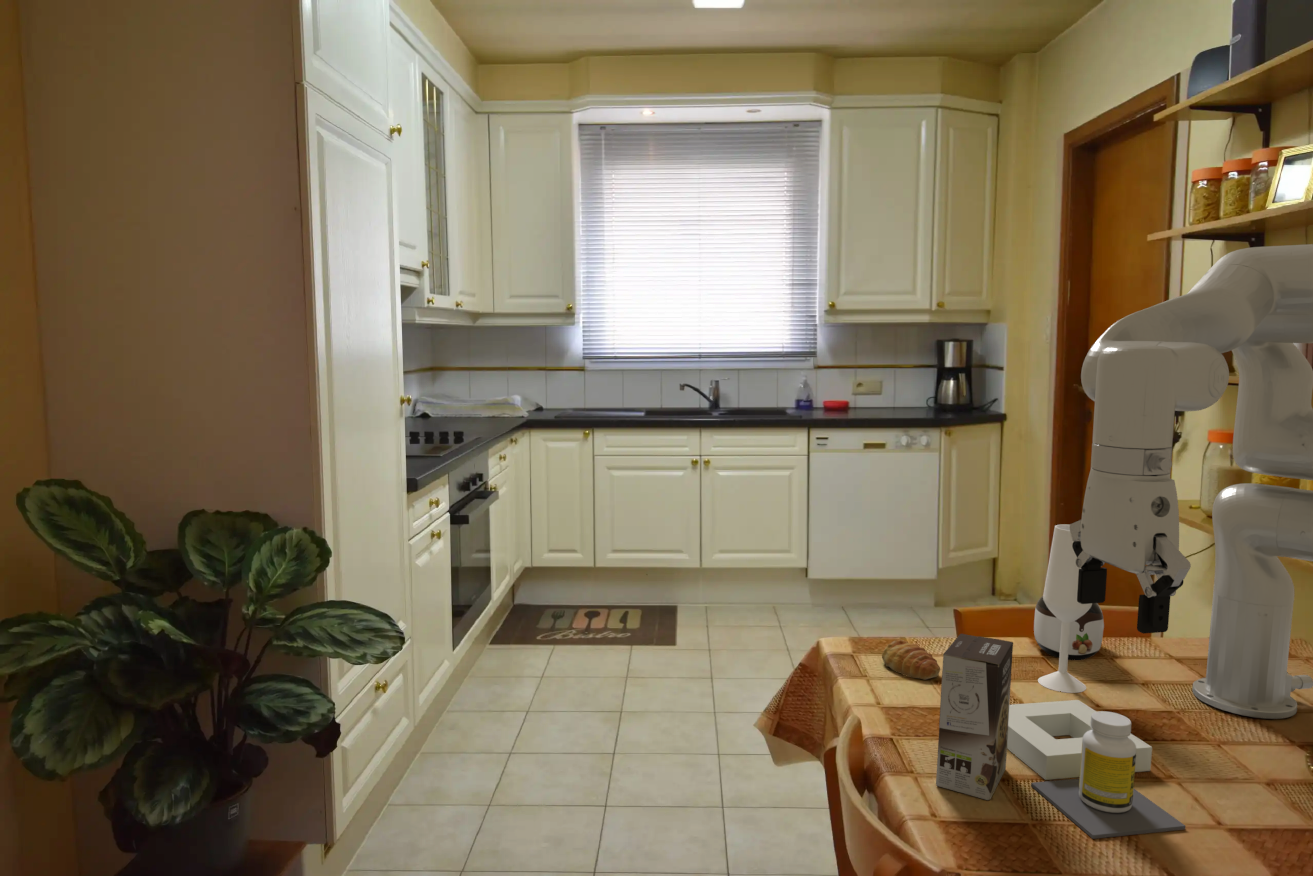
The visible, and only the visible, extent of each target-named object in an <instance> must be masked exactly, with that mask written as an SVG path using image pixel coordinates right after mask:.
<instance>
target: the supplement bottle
mask: <svg viewBox="0 0 1313 876" xmlns="http://www.w3.org/2000/svg"><path fill="white" fill-rule="evenodd" d="M1090 727H1091V729H1092V730H1089V731H1087V732H1086V733H1085V734H1084V735H1083V740H1082V753H1081V766H1080V777H1079V778H1080V780H1079V797H1080V798H1081V800H1082V801H1083V802H1084V803H1086V804H1087V805H1089V806H1091V807H1093V808H1095V809H1097V810H1101V811H1105V812H1111V813H1122V812H1126V811H1128V810H1130V809H1131V807H1132V802H1133V789H1135V787H1134V785H1135V775H1136V774H1135V773H1136V772H1135V761H1136V745H1135V743H1134V742H1133V740H1132V739H1130V738H1129V737H1128V736H1130V733H1131V732H1132V721H1131V720H1130V718H1128V717H1127V716H1125V715H1122V714H1120V713H1117V712H1114V711H1113V712H1112V711H1105V710H1104V711H1103V710H1101V711H1096V712H1094V713H1092V715H1091V726H1090ZM1131 734H1132V733H1131Z"/></svg>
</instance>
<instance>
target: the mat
mask: <svg viewBox="0 0 1313 876" xmlns="http://www.w3.org/2000/svg"><path fill="white" fill-rule="evenodd" d="M1079 780H1080V777H1078V778H1071V779H1070V778H1067V779H1055V780H1044V781H1036V782H1031V784H1030V786H1031V787H1032V788H1033V789H1034V790H1036V792H1037V793H1038V794H1040V795H1041V796H1042V797H1043V798H1044V799H1046V800H1047V801H1048V802H1049V803H1051V804H1052V805H1053V806H1054V807H1055V808H1056V809H1058V810H1059V811H1060V812H1061V813H1062V814H1063V815H1064V816H1066V817H1067V819H1069V820H1070V821H1071V822H1072V823H1073V824H1075V825H1076V827H1077V826H1078V828H1080V830H1082V831H1083V832H1084V833H1085V834H1086V835H1087V836H1089V837H1090V838H1091V839H1094V840H1095V839H1105V838H1113V837H1124V836H1133V835H1134V836H1135V835H1141V834H1143V835H1145V834H1153V833H1154V834H1155V833H1163V832H1171V831H1183V830H1186V825H1185V824H1184V823H1183V822H1181V821H1180V820H1178V819H1177V818H1176V817H1174V816H1173V815H1171V814H1170V813H1169V812H1167V811H1166V810H1164V809H1163V808H1161V807H1160V806H1159V805H1157V804H1156V803H1155V802H1153V801H1152V800H1151V799H1149V798H1148V797H1147V796H1145V795H1144V794H1142V793H1141V792H1139V791H1138V790H1137V789H1135V788H1134V789H1133V802H1132V807H1131V809H1130V810H1128V811H1126V812H1122V813H1111V812H1105V811H1101V810H1097V809H1095V808H1093V807H1091V806H1089V805H1087V804H1086V803H1084V802H1083V801H1082V800H1081V798H1080V797H1079Z"/></svg>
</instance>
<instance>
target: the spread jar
mask: <svg viewBox="0 0 1313 876" xmlns="http://www.w3.org/2000/svg"><path fill="white" fill-rule="evenodd" d="M1034 609H1035V610H1034V618H1033V619H1034V620H1033V631H1034V632H1033V634H1034V639H1035V641H1036V643H1037V645H1038V646H1039V648H1040V649H1041V650H1043V652H1044V653H1046V654H1047V655H1049V656H1051V657H1053V656H1054V658H1056V659H1059V655H1060V640H1061V625H1062V621H1061V620H1059V619H1058V618H1056V616H1055V615H1054V614H1053V613H1052V612H1051V611H1050V610H1049V609H1048V607H1047V606H1046V604H1045V602H1044V600H1043V595H1042V596H1041V597H1040V598H1039V599H1038V600H1037V603H1036V605H1035V608H1034ZM1104 628H1105V622H1104V615H1103V611H1102V609H1101V607H1100V605H1099V603H1092V606H1091V608H1090V609H1089V610H1088V611H1087V612H1086V613H1085V614H1084V615H1083V616H1081V617H1080V618H1078V619H1077V620H1075V621H1073V622H1070V634H1069V649H1068V661H1084V660H1087V659H1089V658H1092V657H1093V656H1095V655H1096V654H1097V653H1098V652H1099V651H1100V649H1101V647H1102V642H1103V636H1104V630H1105V629H1104Z"/></svg>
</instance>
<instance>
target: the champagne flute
mask: <svg viewBox="0 0 1313 876" xmlns="http://www.w3.org/2000/svg"><path fill="white" fill-rule="evenodd" d="M1073 542H1074V541H1072V536H1071V532H1070V524H1065V523H1064V524H1061V523H1060V524H1057V525H1056V524H1055V525H1054V529H1053V536H1052V540H1051V546H1050V551H1049V559H1048V565H1047V571H1046V575H1045V582H1044V589H1043V595H1042V596H1043V600H1044V602H1045V604H1046V606H1047V607H1048V609H1049V610H1050V611H1051V612H1052V613H1053V614H1054V615H1055V616H1056V618H1058V619H1059V620H1061V621H1062V625H1061V640H1060V655H1059V658H1058V670H1057V671H1054V672H1051V673H1049V674H1045V675H1043V676H1040V677H1039V678H1038V679H1037V681H1038V683H1039V685H1041V686H1042V687H1044V688H1045V689H1049V690H1051V691H1056V692H1060V691H1061V693H1068V694H1071V693H1072V694H1074V693H1075V694H1076V693H1083V692H1084V691H1086V690H1087V685H1086V684H1084V683H1083V682H1082V681H1080V680H1079V679H1077V678H1076V677H1075V676H1074V675H1072V674H1070V673H1069V672H1068V663H1069V660H1068V649H1069V634H1070V622H1073V621H1075V620H1077V619H1078V618H1080V617H1081V616H1083V615H1084V614H1085V613H1086V612H1087V611H1088V610H1089V609H1090V608H1091V606H1092V603H1091V604H1081V603H1079V602H1078V601H1077V591H1078V574H1079V569H1081V568H1078V567H1077V566H1076V558H1077V556H1076V554H1075V552H1074V550H1073V547H1072V544H1073Z"/></svg>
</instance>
